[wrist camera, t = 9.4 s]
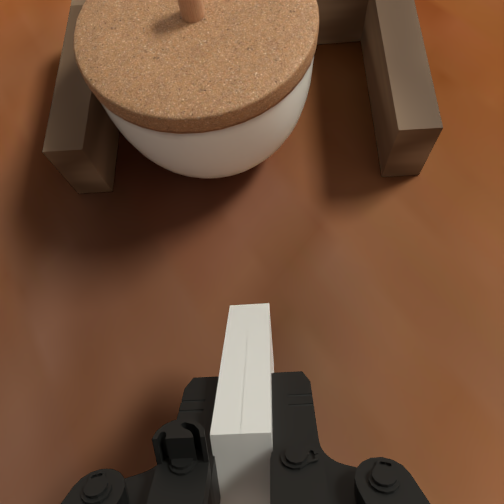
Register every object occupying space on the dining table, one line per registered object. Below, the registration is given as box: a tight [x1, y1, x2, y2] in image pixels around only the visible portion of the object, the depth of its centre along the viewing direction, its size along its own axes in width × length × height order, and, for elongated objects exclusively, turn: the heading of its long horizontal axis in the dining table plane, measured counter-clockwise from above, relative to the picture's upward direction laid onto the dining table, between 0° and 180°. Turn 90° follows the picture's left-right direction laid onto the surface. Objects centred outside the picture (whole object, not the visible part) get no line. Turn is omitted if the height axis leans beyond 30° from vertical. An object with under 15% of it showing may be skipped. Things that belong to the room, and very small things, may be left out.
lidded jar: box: [74, 0, 319, 179], centre depth 22 cm, size 11×11×9 cm
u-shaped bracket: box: [42, 0, 443, 193], centre depth 25 cm, size 19×12×4 cm, turn 91°
